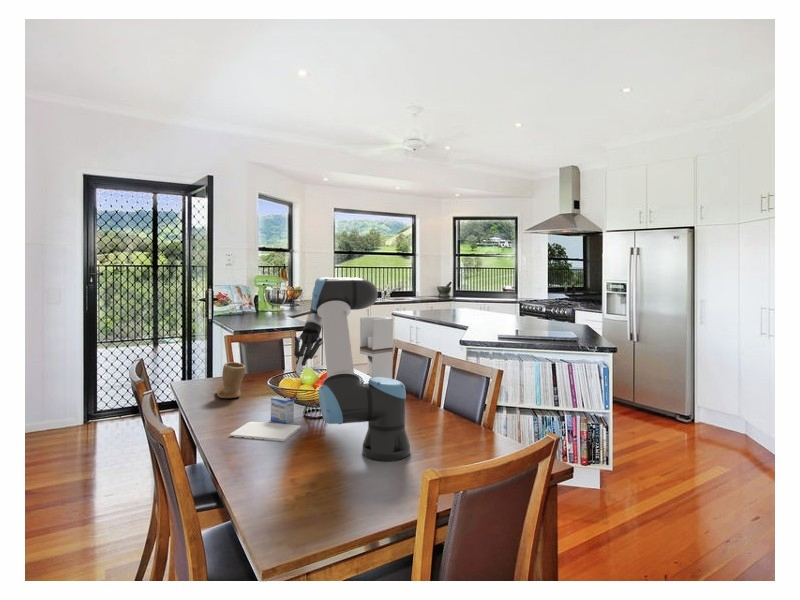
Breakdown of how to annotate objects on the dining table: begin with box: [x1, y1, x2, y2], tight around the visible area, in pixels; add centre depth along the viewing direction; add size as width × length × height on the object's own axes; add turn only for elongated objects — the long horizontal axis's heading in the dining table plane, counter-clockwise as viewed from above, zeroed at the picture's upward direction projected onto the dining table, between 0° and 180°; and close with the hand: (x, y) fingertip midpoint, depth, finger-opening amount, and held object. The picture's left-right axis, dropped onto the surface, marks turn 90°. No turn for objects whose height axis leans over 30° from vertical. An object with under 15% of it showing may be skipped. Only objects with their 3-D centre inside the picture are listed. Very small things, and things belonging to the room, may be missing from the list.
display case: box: [359, 315, 394, 379], centre depth 223 cm, size 11×11×35 cm
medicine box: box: [270, 395, 295, 424], centre depth 178 cm, size 8×4×9 cm, turn 62°
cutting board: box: [229, 421, 302, 442], centre depth 166 cm, size 14×20×1 cm
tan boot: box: [216, 361, 246, 399], centre depth 211 cm, size 15×12×15 cm
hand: (298, 371), depth 193 cm, fingers closed
